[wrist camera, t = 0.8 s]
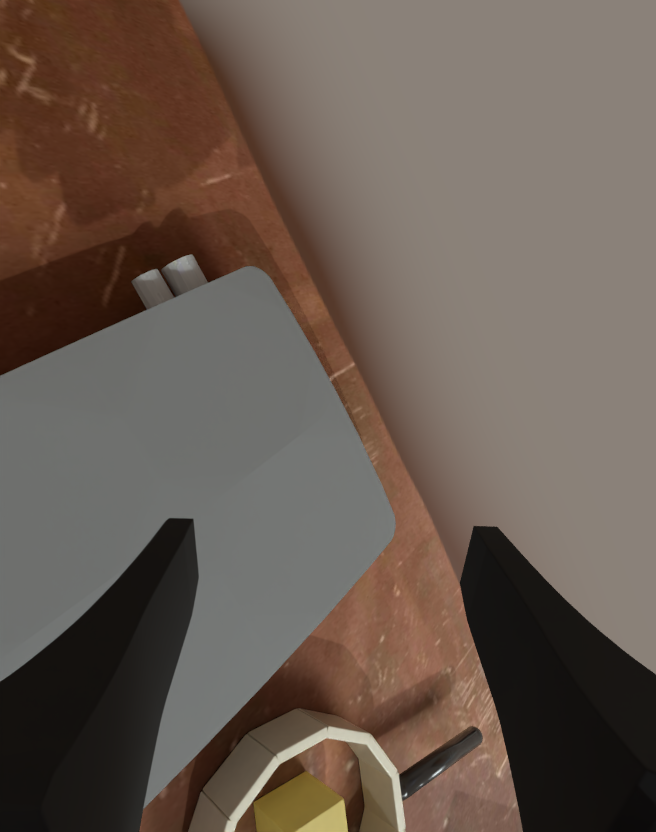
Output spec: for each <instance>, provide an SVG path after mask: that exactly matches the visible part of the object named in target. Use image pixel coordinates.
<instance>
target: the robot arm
mask: <svg viewBox="0 0 656 832" xmlns="http://www.w3.org/2000/svg"><path fill="white" fill-rule="evenodd" d="M198 580H199V572H198V561H197V551H196V540H195V530H194V519H189V518H169V519H167V520H166V521H165V522H164V524H163V525H162V526H161V528H160V529H159V530H158V531H157V533H156V534H155V535H154V537H153V538H152V539H151V540H150V542H149V543H148V544H147V545H146V547H145V548H144V549H143V550H142V551H141V553H140V554H139V555H138V556H137V557H136V559H135V560H134V561H133V562H132V563H131V564H130V565H129V567H128V568H127V569H126V570H125V571H124V572H123V573H122V575H121V576H120V577H119V578H118V579H117V580H116V581H115V582H114V583H113V584H112V586H111V587H110V588H109V589H108V590H107V591H106V592H105V593H104V594H103V595H102V596H101V597H100V598H99V599H98V600H97V601H96V602H95V603H94V604H93V605H92V606H91V607H90V608H89V609H88V610H87V611H86V612H85V613H84V614H83V615H82V616H81V617H80V618H79V619H77V620H76V621H75V622H74V623H73V624H72V625H71V626H70V627H69V628H68V629H66V630H65V631H64V632H63V633H62V634H61V635H60V636H58V637H57V638H56V639H55V640H54V641H53V642H51V643H50V644H49V645H48V646H46V647H45V648H44V649H43V650H41V651H40V652H39V653H38V654H37V655H35V656H34V657H33V658H32V659H30V660H29V661H28V662H26V663H25V664H24V665H23V666H21V667H20V668H19V669H17V670H16V671H15V672H13V673H12V674H10V675H9V676H8V677H6V678H5V679H3V680H2V681H0V832H139V829H140V824H141V818H142V813H143V807H144V802H145V797H146V792H147V786H148V781H149V776H150V771H151V766H152V761H153V756H154V751H155V746H156V742H157V737H158V732H159V727H160V722H161V718H162V714H163V710H164V706H165V703H166V699H167V696H168V693H169V689H170V686H171V683H172V679H173V676H174V673H175V670H176V666H177V663H178V660H179V657H180V653H181V650H182V647H183V644H184V640H185V637H186V634H187V630H188V627H189V624H190V620H191V617H192V613H193V608H194V602H195V597H196V591H197V586H198ZM460 586H461V591H462V597H463V602H464V607H465V612H466V616H467V621H468V624H469V627H470V631H471V634H472V637H473V640H474V643H475V646H476V649H477V652H478V655H479V658H480V661H481V664H482V667H483V670H484V673H485V676H486V679H487V682H488V685H489V688H490V691H491V694H492V697H493V700H494V703H495V707H496V710H497V713H498V717H499V720H500V724H501V728H502V733H503V737H504V742H505V746H506V750H507V755H508V759H509V763H510V768H511V773H512V778H513V783H514V787H515V792H516V797H517V802H518V807H519V812H520V817H521V823H522V828H523V832H656V675H655V674H654V673H653V672H652V671H650V670H649V669H647V668H646V667H645V666H643V665H642V664H641V663H639V662H638V661H636V660H635V659H634V658H633V657H631V656H630V655H629V654H627V653H626V652H625V651H623V650H622V649H621V648H620V647H618V646H617V645H616V644H615V643H613V642H612V641H611V640H610V639H609V638H608V637H606V636H605V635H604V634H603V633H601V632H600V631H599V630H598V629H597V628H596V627H594V626H593V625H592V624H591V623H590V622H589V621H588V620H586V619H585V618H584V617H583V616H582V615H581V614H580V613H579V612H578V611H577V610H576V609H575V608H573V606H571V605H570V604H569V603H568V602H567V601H566V600H565V599H564V598H563V597H562V596H561V595H560V594H559V593H558V592H557V591H556V590H555V589H554V588H553V587H552V586H551V585H550V584H549V583H548V582H547V581H546V580H545V579H544V578H543V577H542V576H541V574H540V573H539V572H538V571H537V570H536V569H535V568H534V567H533V566H532V565H531V564H530V563H529V562H528V560H527V559H526V558H525V557H524V556H523V555H522V554H521V553H520V552H519V551H518V550H517V549H516V547H515V546H514V545H513V544H512V543H511V542H510V541H509V539H507V537H506V536H505V535H504V534H503V533H502V532H501V531H500V529H499V528H498V527H486V526H474V527H473V531H472V535H471V540H470V544H469V548H468V552H467V556H466V561H465V564H464V569H463V573H462V577H461V581H460Z"/></svg>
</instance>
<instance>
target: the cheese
mask: <svg viewBox="0 0 656 832" xmlns="http://www.w3.org/2000/svg"><path fill="white" fill-rule="evenodd" d="M253 805H254V813H255V821H256V830H257V832H348V828H347V820H346V812H345V804H344V798H342V797H341V796H340V795H338V794H337V793H336V792H334V791H333V790H332V789H330V788H329V787H327V786H326V785H325V784H323V783H322V782H321V781H319V780H318V779H316V778H315V777H314V776H312V775H311V774H310V773H308V772H307V771H305V772H303V773H302V774H300V775H298V776H297V777H295V778H293V779H292V780H290V781H288V782H287V783H285V784H283V785H281V786H280V787H278V788H276V789H275V790H273V791H271V792H270V793H268V794H266V795H265V796H263V797H261V798H259V799H258V800H256V801H254V802H253Z"/></svg>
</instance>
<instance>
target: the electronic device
mask: <svg viewBox="0 0 656 832" xmlns="http://www.w3.org/2000/svg"><path fill="white" fill-rule="evenodd" d="M161 271H162V273H163V275H164V277H165V278H166V280H167V282H168V284H169V285H170V287H171V289H172V291H173V293H174V294H175V296H176V297H175V298H174V296H173V295H172V293H171V291H170V290H169V288H168V286H167V284H166V283H165V281H164V279H163V278H162V276H161V274H160V273H159V271H158V269H154V270H151V271H148V272H146V273H144V274H142V275H140V276H138V277H137V278H135V279H134V280H132V281H131V282H132V284H133V286H134V288H135V289H136V291H137V293H138V295H139V296H140V298H141V300H142V302H143V303H144V305H145V307H146V309H147V310H146V311H143V312H141V313H139V314H137V315H134V316H132V317H130V318H128V319H125V320H123V321H121V322H119V323H116V324H114V325H112V326H110V327H107V328H105V329H103V330H101V331H98V332H96V333H94V334H92V335H90V336H87V337H85V338H83V339H81V340H78V341H76V342H74V343H72V344H69V345H67V346H65V347H63V348H61V349H58V350H56V351H54V352H52V353H49V354H47V355H45V356H43V357H41V358H38V359H36V360H34V361H32V362H30V363H27V364H25V365H23V366H21V367H18V368H16V369H14V370H12V371H10V372H7V373H5V374H3V375H1V376H0V681H2V680H3V679H5V678H6V677H8V676H9V675H10V674H12V673H13V672H15V671H16V670H17V669H19V668H20V667H21V666H23V665H24V664H25V663H26V662H28V661H29V660H30V659H32V658H33V657H34V656H35V655H37V654H38V653H39V652H40V651H41V650H43V649H44V648H45V647H46V646H48V645H49V644H50V643H51V642H53V641H54V640H55V639H56V638H57V637H58V636H60V635H61V634H62V633H63V632H64V631H65V630H66V629H68V628H69V627H70V626H71V625H72V624H73V623H74V622H75V621H76V620H77V619H79V618H80V617H81V616H82V615H83V614H84V613H85V612H86V611H87V610H88V609H89V608H90V607H91V606H92V605H93V604H94V603H95V602H96V601H97V600H98V599H99V598H100V597H101V596H102V595H103V594H104V593H105V592H106V591H107V590H108V589H109V588H110V587H111V586H112V584H113V583H114V582H115V581H116V580H117V579H118V578H119V577H120V576H121V575H122V573H123V572H124V571H125V570H126V569H127V568H128V567H129V565H130V564H131V563H132V562H133V561H134V560H135V559H136V557H137V556H138V555H139V554H140V553H141V551H142V550H143V549H144V548H145V547H146V545H147V544H148V543H149V542H150V540H151V539H152V538H153V537H154V535H155V534H156V533H157V531H158V530H159V529H160V528H161V526H162V525H163V524H164V522H165V521H166V520H167V519H169V518H189V519H194V530H195V540H196V551H197V561H198V572H199V580H198V586H197V591H196V597H195V602H194V608H193V613H192V617H191V620H190V624H189V627H188V630H187V634H186V637H185V640H184V644H183V647H182V650H181V653H180V657H179V660H178V663H177V666H176V670H175V673H174V676H173V679H172V683H171V686H170V689H169V693H168V696H167V699H166V703H165V706H164V710H163V714H162V718H161V722H160V727H159V732H158V737H157V742H156V746H155V751H154V756H153V761H152V766H151V771H150V776H149V781H148V786H147V792H146V797H145V802H144V807H143V809H144V808H145V807H146V806H147V805H148V804H149V803H150V802H151V801H152V800H153V799H154V798H155V797H156V796H157V795H158V794H159V793H160V792H161V791H162V790H163V789H164V788H165V787H166V786H167V785H168V783H169V782H170V781H171V780H172V779H173V778H174V777H175V776H176V775H177V774H178V773H179V772H180V771H181V770H182V769H183V768H184V767H185V766H186V765H187V764H188V763H189V762H190V761H191V760H192V759H193V758H194V757H195V756H196V755H197V754H198V753H199V752H200V751H201V750H202V749H203V748H204V747H205V746H206V745H207V744H208V743H209V742H210V741H211V740H212V738H213V737H214V736H215V735H216V734H217V733H218V732H219V731H220V730H221V729H222V728H223V727H224V726H225V725H226V724H227V723H228V722H229V721H230V720H231V719H232V718H233V717H234V715H235V714H236V713H237V712H238V711H239V710H240V709H241V708H242V707H243V706H244V705H245V704H246V703H247V702H248V701H249V700H250V699H251V698H252V697H253V696H254V695H255V693H256V692H257V691H258V690H259V689H260V688H261V687H262V686H263V685H264V684H265V683H266V682H267V681H268V680H269V679H270V677H271V676H272V675H273V674H274V673H275V672H276V671H277V670H278V669H279V668H280V667H281V665H282V664H283V663H284V662H285V661H286V660H287V659H288V658H289V657H290V656H291V654H292V653H293V652H294V651H295V650H296V649H297V648H298V647H299V646H300V645H301V644H302V642H303V641H304V640H305V639H306V638H307V637H308V636H309V635H310V634H311V633H312V632H313V630H314V629H315V628H316V627H317V626H318V625H319V624H320V623H321V622H322V621H323V619H324V618H325V617H326V616H327V615H328V614H329V613H330V612H331V611H332V609H333V608H334V607H335V606H336V605H337V604H338V602H339V601H340V600H341V599H342V598H343V597H344V596H345V594H346V593H347V592H348V591H349V590H350V589H351V587H352V586H353V585H354V584H355V583H356V582H357V581H358V579H359V578H360V577H361V576H362V575H363V574H364V572H365V571H366V570H367V569H368V568H369V567H370V566H371V564H372V563H373V562H374V561H375V560H376V558H377V557H378V556H379V555H380V553H381V552H382V551H383V550H384V549H385V547H386V546H387V545H388V544H389V543H390V541H391V540H392V538H393V536H394V532H395V524H396V523H395V515H394V513H393V510H392V508H391V506H390V503H389V501H388V499H387V496H386V494H385V491H384V489H383V487H382V484H381V482H380V480H379V478H378V476H377V474H376V471H375V469H374V467H373V465H372V463H371V461H370V459H369V456H368V454H367V452H366V450H365V448H364V446H363V444H362V441H361V439H360V437H359V435H358V433H357V431H356V429H355V427H354V425H353V423H352V421H351V419H350V418H349V416H348V414H347V412H346V410H345V408H344V406H343V404H342V402H341V400H340V398H339V396H338V394H337V392H336V390H335V388H334V386H333V385H332V383H331V381H330V379H329V377H328V376H327V374H326V372H325V370H324V368H323V366H322V365H321V363H320V361H319V359H318V357H317V355H316V354H315V352H314V350H313V348H312V347H311V345H310V343H309V341H308V340H307V338H306V336H305V334H304V333H303V331H302V329H301V328H300V326H299V324H298V322H297V321H296V319H295V317H294V315H293V314H292V312H291V310H290V309H289V307H288V306H287V304H286V302H285V301H284V299H283V297H282V296H281V294H280V293H279V291H278V289H277V288H276V286H275V285H274V283H273V281H272V280H271V278H270V277H269V276H268V275H267V274H266V273H265V272H264V271H263V270H261V269H259V268H257V267H254V266H246V267H244V268H241V269H239V270H237V271H234V272H232V273H230V274H227V275H225V276H223V277H220V278H218V279H216V280H213V281H211V282H209V283H208V282H207V280H206V278H205V276H204V274H203V273H202V271H201V269H200V267H199V265H198V264H197V262H196V260H195V258H194V256H193V255H192V254H191V255H187V256H184V257H182V258H179V259H177V260H175V261H173V262H171V263H170V264H168V265H167V266H165V267H164V268H163V269H162V270H161Z"/></svg>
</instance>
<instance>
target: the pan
mask: <svg viewBox="0 0 656 832" xmlns="http://www.w3.org/2000/svg"><path fill="white" fill-rule="evenodd" d="M326 738H328V739H334V740H340V741H346V743H347V744H348V745H349V746H350V748H351V749H352V750H353V752H354V753H355V754H356V756H357V757H358V760H359V767H360V775H361V783H362V791H363V799H364V806H365V808H364V812H363V817H362V821H361V825H360V830H359V832H405V828H406V826H405V818H404V811H403V803H402V801H404V800H406V799H407V798H408V797H410V796H411V795H412V794H414V793H415V792H416V791H418V790H419V789H421V788H422V787H423V786H425V785H426V784H427V783H429V782H430V781H431V780H433V779H434V778H436V777H437V776H438V775H440V774H441V773H442V772H444V771H445V770H446V769H448V768H449V767H451V766H452V765H453V764H455V763H456V762H457V761H459V760H460V759H461V758H463V757H464V756H466V755H467V754H468V753H470V752H471V751H472V750H474V749H475V748H476V747H478V746H479V745H480V744H481V743H482V739H483V737H482V733H481V731H480V730H479V729H478V728H476V727H474V726H471V727H468V728H467V729H465V730H464V731H462V732H461V733H459V734H458V735H456V736H455V737H453V738H452V739H451V740H449V741H448V742H446V743H445V744H443V745H442V746H440V747H439V748H437V749H436V750H435V751H433V752H432V753H430V754H429V755H427V756H426V757H424V758H423V759H421V760H420V761H418V762H417V763H416V764H414V765H413V766H411V767H410V768H408V769H407V770H405V771H404V772H402V773H401V774H400V775H399V773H398V770H397V769H396V767H395V766H394V764H393V763H392V762H391V760H390V759H389V758H388V756H387V755H386V754H385V752H384V751H383V749H382V748H381V747H380V745H379V744H378V743H377V741H376V740H375V739H374V737H373V736H372V734H370V733H369V732H367V731H365V730H363V729H361V728H359V727H358V726H356V725H354V724H352V723H350V722H348V721H347V720H345V719H343V718H341V717H339V716H336V715H331V714H326V713H321V712H316V711H311V710H306V709H300V708H297V709H294V710H292V711H290V712H288V713H286V714H284V715H282V716H280V717H278V718H276V719H274V720H272V721H270V722H268V723H266V724H264V725H262V726H260V727H258V728H256V729H254V730H252V731H250V732H248V734H246V735H245V736H244V737H243V738H242V740H241V741H240V742H239V743H238V745H237V746H236V747H235V748H234V750H233V751H232V752H231V754H230V755H229V756H228V757H227V759H226V760H225V761H224V762H223V764H222V765H221V766H220V767H219V769H218V770H217V771H216V772H215V774H214V775H213V776H212V777H211V779H210V780H209V781H208V783H207V784H206V785H205V786H204V788H203V791H202V792H201V793H200V796H199V799H198V802H197V805H196V809H195V812H194V815H193V818H192V821H191V824H190V827H189V830H188V832H234V831H235V828H236V824H237V822H238V821H239V819H240V818H241V817H242V815H243V814H244V813H245V811H246V810H247V808H248V807H249V806H250V804H251V803H252V802H253V800H254V799H255V797H256V796H257V795H258V793H259V792H260V791H261V789H262V788H263V786H264V785H265V784H266V782H267V781H268V780H269V778H270V777H271V775H272V774H273V773H274V771H275V770H276V769H277V767H278V766H279V764H281V763H283V762H285V761H287V760H288V759H290V758H292V757H294V756H295V755H297V754H299V753H301V752H303V751H304V750H306V749H308V748H310V747H312V746H313V745H315V744H317V743H319V742H320V741H322V740H324V739H326Z"/></svg>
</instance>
